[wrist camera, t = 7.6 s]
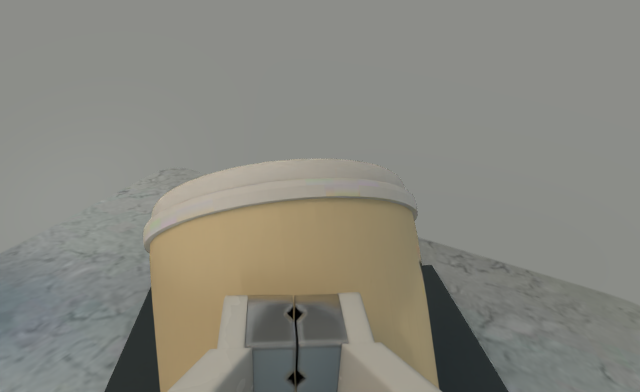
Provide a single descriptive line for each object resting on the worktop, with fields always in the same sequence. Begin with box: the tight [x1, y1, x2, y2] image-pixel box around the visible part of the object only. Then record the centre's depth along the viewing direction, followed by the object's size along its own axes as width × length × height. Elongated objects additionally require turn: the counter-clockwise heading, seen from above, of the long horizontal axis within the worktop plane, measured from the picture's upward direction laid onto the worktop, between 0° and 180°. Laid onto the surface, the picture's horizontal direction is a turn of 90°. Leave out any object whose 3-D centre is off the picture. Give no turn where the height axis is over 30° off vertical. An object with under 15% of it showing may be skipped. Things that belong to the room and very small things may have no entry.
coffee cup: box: [143, 159, 439, 392], centre depth 14 cm, size 9×9×12 cm
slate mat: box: [105, 265, 508, 392], centre depth 25 cm, size 20×16×1 cm
